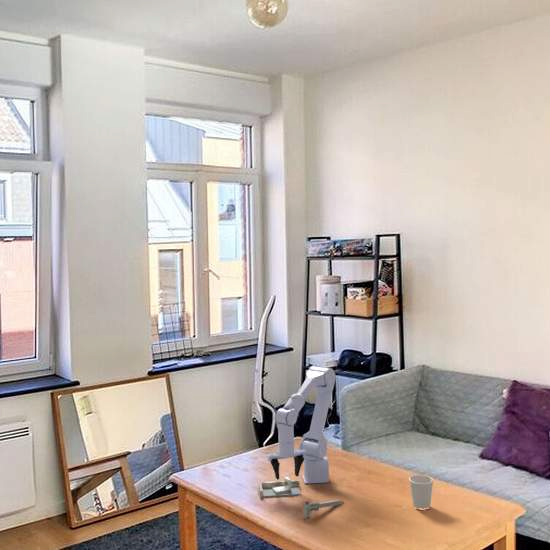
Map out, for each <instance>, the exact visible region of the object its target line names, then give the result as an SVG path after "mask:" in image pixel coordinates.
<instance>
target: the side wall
mask: <svg viewBox="0 0 550 550" xmlns="http://www.w3.org/2000/svg"><path fill="white" fill-rule="evenodd" d="M258 493H259V498H260V499H263V489H262V484H261V483H260V482H258Z"/></svg>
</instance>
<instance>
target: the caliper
mask: <svg viewBox="0 0 550 550" xmlns="http://www.w3.org/2000/svg"><path fill="white" fill-rule="evenodd" d="M343 502H344V500H341V499H336V500H330V501H323V502H318V501H316V502H311V501H310V500H305V502H304V503H303V509H302V519H303V520H307V519H308V518H309V519H311V515H312V512H313V511H314V512H317V511H319V509H322V508H323V509H324V508H327V507H334V506H340V505H341V504H343Z"/></svg>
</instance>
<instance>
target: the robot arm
mask: <svg viewBox="0 0 550 550" xmlns="http://www.w3.org/2000/svg"><path fill="white" fill-rule="evenodd" d="M305 375H306V376H305V377H306V378H305V380H304V382H303V383H302V385H301V387H300V388H299V390H298V391H297V393H293V394H292V395H291V396H290V398H289V399H288V400H287V401H286V403H284V406H283V407H280V408H279V409H278V410H276V412H275V415H274V419H273V420H274V422H275V423H276V428H277V433H278V435H277V436H278V451H277V452H273V453H270V454H266V455H267V456H266V457H267V458H266V459H267V461H268V462H270V464H271V467H272V470H273V471H274V476H275V479H277V480H280V465H281V463H280V462H279V460H281V459H282V460H283V459H289V458H293V461H294V463H293V464H294V476H296V477H299V475H300V471H301V468H302V465H303V470H304V475H302V480H303V482H304V484H306V485H307V484H325V483H330V476H329V475H330V471H329V466H330V465H329V459H328V456H326V455H327V453H328V448H327V447H328V440H327V438H326V436H324V430H325V425H326V420H327V416H328V411H329V407H330V403H331V397H332V393H333V391H334V387H335V383H336V379H337V375H336V372H335V371H334V369H333V368H331V367H329V368H328V367H320V366H315V365H312V366H310V367H309V368H308V371H306V374H305ZM314 389H316V390H317V396H316V401H315V405H314V409H313V413H312V418H311V423H310V427H309V431H307V432H306V433H304V434H303V435H302V439H301V440H300V443H299V446H298V447H299V449H295V435H294V434H295V432H294V430H295V429H294V426H295V424H296V423H297V419H298V416H299V412H300V411H301V409H303V407H304V405H305V404H306V401H305V400H306V398H307V396H309V394H310V393H312V390H314Z"/></svg>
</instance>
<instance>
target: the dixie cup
mask: <svg viewBox="0 0 550 550" xmlns="http://www.w3.org/2000/svg"><path fill="white" fill-rule="evenodd" d="M408 480H409V483H410V484H409V485H410V492H411V499H412V507H413V506H414V507H416V508H423V509H424V508H428V507H430V508H431V505H432V504H431V502H432V495H433V494H432V492H433V483H434V481H435V479H434V478H433V477H431V476H429V475H425V474H415V475H411V476H410V477H409V478H408ZM414 507H413V508H414Z"/></svg>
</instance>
